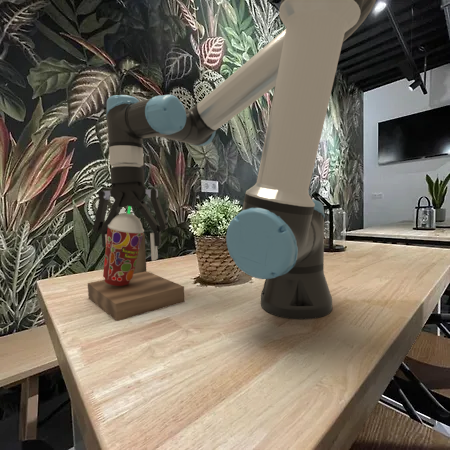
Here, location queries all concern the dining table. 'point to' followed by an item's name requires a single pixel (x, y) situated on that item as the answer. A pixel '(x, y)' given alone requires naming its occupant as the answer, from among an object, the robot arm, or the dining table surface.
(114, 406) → the dining table surface
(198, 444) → the dining table surface
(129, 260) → the smoothie
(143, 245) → the pillar candle
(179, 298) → the walnut shelf board
